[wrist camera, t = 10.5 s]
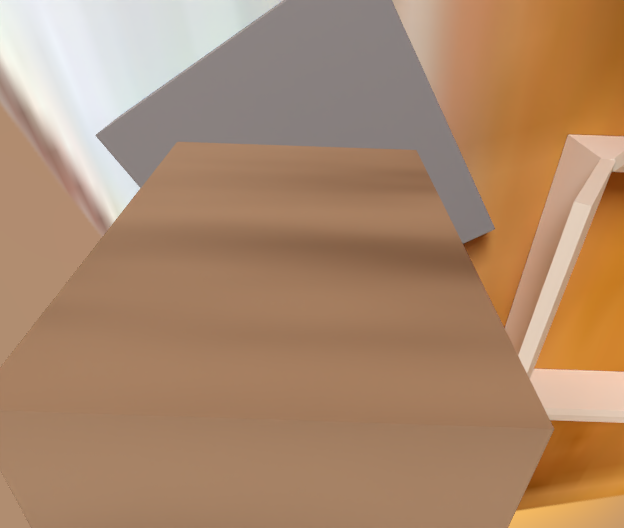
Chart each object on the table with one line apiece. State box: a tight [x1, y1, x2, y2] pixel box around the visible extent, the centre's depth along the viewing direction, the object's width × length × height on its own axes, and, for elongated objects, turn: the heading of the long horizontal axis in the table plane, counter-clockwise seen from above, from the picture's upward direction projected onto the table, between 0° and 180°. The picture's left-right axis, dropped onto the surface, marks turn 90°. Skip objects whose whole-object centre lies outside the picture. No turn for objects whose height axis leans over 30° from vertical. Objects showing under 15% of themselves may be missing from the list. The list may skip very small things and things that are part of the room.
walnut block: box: [0, 142, 554, 528], centre depth 10 cm, size 12×5×7 cm, turn 178°
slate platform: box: [96, 0, 495, 244], centre depth 24 cm, size 14×14×3 cm
